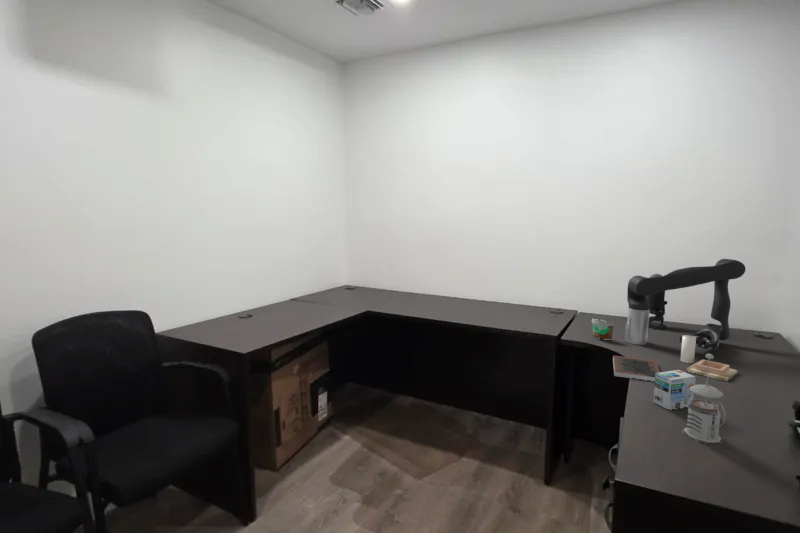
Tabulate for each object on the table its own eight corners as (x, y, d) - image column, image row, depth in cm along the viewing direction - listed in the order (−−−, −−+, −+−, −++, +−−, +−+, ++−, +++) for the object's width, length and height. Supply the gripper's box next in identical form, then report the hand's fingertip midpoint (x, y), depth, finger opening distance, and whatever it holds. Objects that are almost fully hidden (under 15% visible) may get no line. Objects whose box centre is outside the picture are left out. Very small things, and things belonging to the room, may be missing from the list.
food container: (585, 336, 231) (586, 317, 230) (593, 334, 233) (594, 316, 232) (605, 342, 220) (606, 323, 218) (613, 341, 222) (615, 321, 221)
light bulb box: (668, 410, 146) (671, 379, 145) (652, 402, 152) (654, 372, 151) (694, 406, 149) (696, 376, 148) (676, 398, 155) (679, 369, 154)
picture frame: (661, 384, 170) (655, 365, 189) (662, 377, 169) (655, 360, 189) (614, 377, 176) (612, 360, 196) (614, 371, 176) (613, 354, 196)
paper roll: (678, 361, 193) (680, 336, 192) (682, 358, 196) (684, 334, 195) (691, 364, 189) (693, 339, 188) (695, 361, 193) (697, 337, 191)
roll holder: (686, 371, 181) (686, 363, 180) (697, 363, 190) (698, 356, 189) (727, 381, 170) (727, 373, 170) (737, 373, 179) (738, 365, 179)
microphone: (661, 324, 254) (665, 272, 250) (671, 330, 242) (676, 276, 238) (637, 323, 256) (641, 272, 252) (647, 329, 244) (651, 275, 240)
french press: (706, 427, 135) (713, 348, 132) (736, 447, 124) (745, 361, 120) (674, 427, 135) (681, 348, 132) (701, 448, 123) (710, 362, 120)
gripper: (688, 327, 212) (676, 333, 201) (724, 333, 201) (713, 340, 190) (687, 342, 213) (675, 349, 202) (723, 349, 202) (711, 357, 191)
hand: (693, 344), depth 196 cm, fingers open, 8 cm apart
